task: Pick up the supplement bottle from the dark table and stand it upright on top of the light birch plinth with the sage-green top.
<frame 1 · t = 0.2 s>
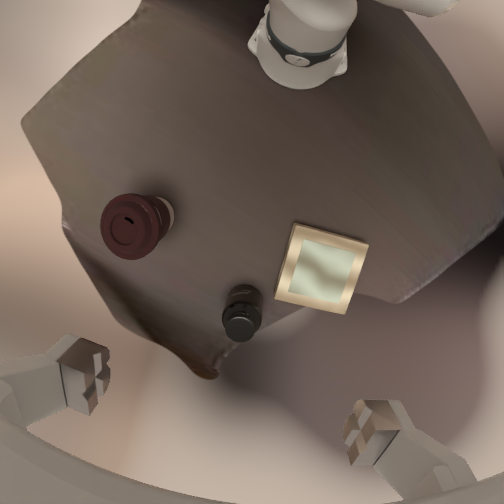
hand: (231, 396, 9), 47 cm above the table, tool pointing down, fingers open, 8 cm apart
supplement bottle: (244, 300, 59), on the table
coffee cup: (157, 215, 55), on the table
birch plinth: (319, 267, 57), on the table
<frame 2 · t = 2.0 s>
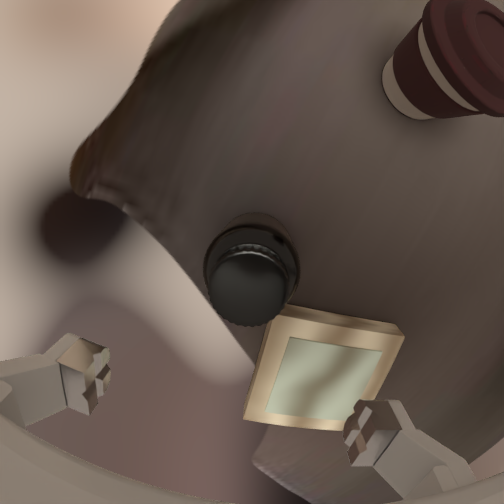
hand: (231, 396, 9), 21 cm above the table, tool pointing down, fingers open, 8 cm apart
supplement bottle: (255, 246, 29), on the table
coffee cup: (410, 87, 25), on the table
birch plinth: (318, 368, 32), on the table
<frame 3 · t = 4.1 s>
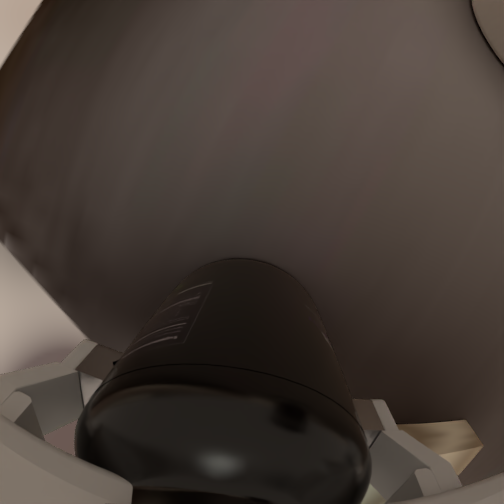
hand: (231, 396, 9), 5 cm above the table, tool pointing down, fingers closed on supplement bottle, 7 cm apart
supplement bottle: (241, 326, 13), on the table, touching gripper
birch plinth: (344, 485, 16), on the table
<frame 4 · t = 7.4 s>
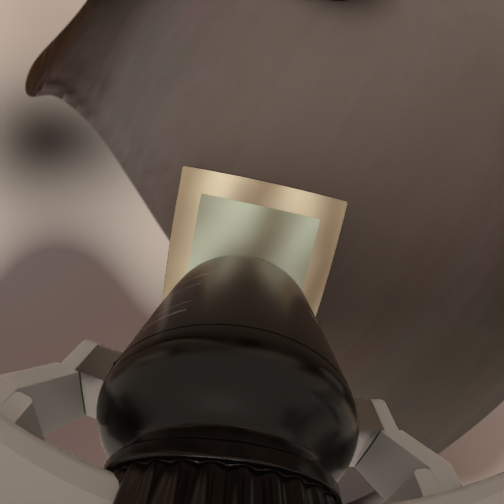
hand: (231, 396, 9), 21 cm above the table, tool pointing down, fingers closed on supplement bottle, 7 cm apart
supplement bottle: (237, 317, 15), point 15 cm above the table, touching gripper
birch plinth: (249, 255, 29), on the table
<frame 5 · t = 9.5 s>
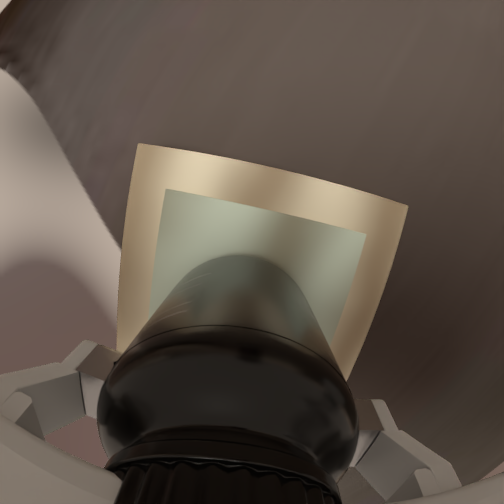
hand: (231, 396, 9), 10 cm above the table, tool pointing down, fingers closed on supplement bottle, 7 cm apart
supplement bottle: (237, 318, 15), point 4 cm above the table, touching gripper
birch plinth: (248, 285, 18), on the table
when the fingers open (9 cm above the table, at t = 10.9 s): supplement bottle stays where it is, resting on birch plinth.
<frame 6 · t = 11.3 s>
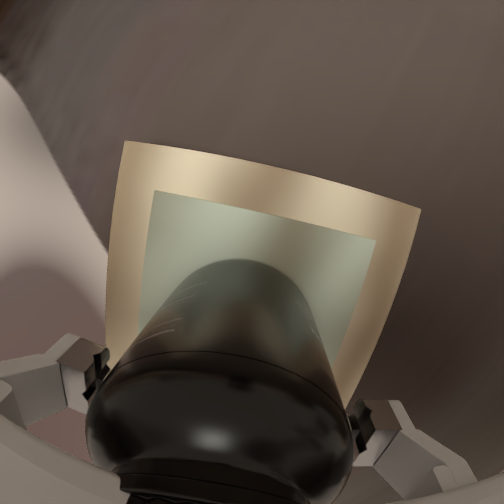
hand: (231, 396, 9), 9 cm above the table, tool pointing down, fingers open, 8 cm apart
supplement bottle: (238, 323, 14), point 3 cm above the table, touching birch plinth
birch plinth: (246, 295, 17), on the table
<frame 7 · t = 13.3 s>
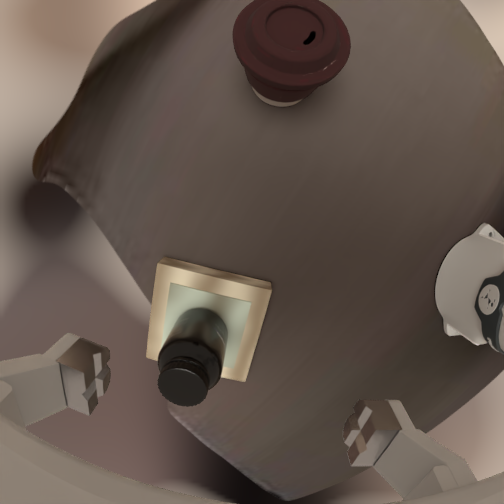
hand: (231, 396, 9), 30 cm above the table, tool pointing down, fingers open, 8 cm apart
supplement bottle: (201, 329, 37), point 3 cm above the table, touching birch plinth
coffee cup: (280, 81, 33), on the table
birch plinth: (206, 317, 40), on the table
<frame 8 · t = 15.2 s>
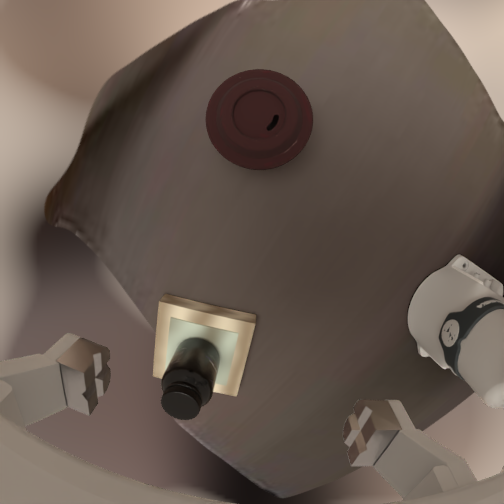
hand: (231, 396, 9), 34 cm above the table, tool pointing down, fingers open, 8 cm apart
supplement bottle: (198, 354, 44), point 3 cm above the table, touching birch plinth
coffee cup: (260, 136, 39), on the table
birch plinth: (202, 343, 46), on the table
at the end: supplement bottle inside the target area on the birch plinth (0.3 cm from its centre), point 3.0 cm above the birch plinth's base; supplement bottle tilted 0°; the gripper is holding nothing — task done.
